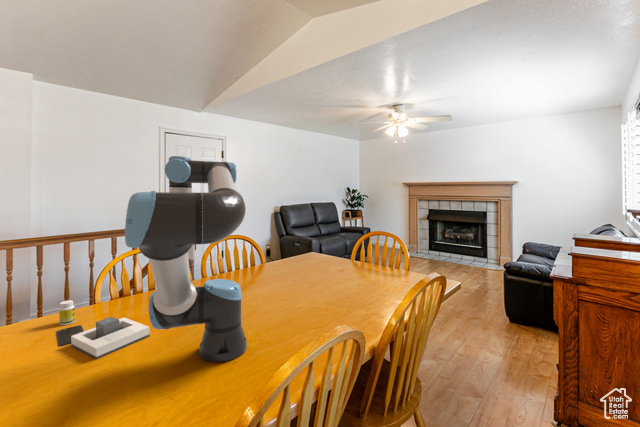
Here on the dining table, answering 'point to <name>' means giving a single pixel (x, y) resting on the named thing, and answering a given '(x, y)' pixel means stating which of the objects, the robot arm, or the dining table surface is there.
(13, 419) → the dining table surface
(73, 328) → the smartphone
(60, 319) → the supplement bottle
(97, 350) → the white slotted tray
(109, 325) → the charger brick
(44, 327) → the dining table surface
